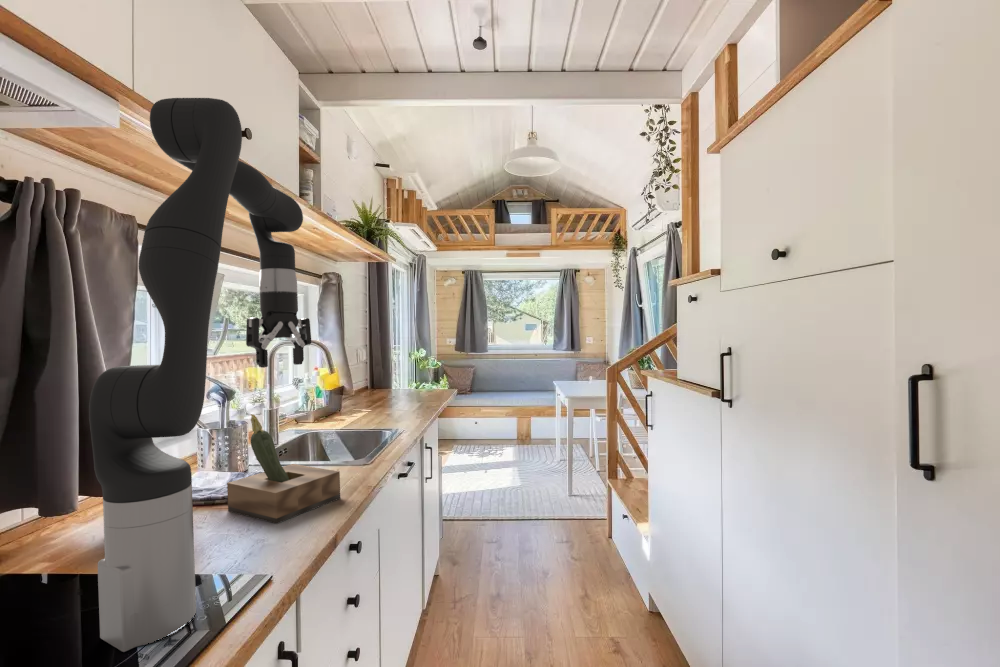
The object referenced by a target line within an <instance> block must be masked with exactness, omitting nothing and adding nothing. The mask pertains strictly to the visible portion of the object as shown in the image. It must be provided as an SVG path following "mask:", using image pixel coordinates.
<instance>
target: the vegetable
mask: <svg viewBox="0 0 1000 667" xmlns="http://www.w3.org/2000/svg"><path fill="white" fill-rule="evenodd" d="M250 416H251V419H250V422H251V428H252V432H253V433H252V434H251V437H250V445H251V449H252V452H253V454H254V456H255V458H256V460H257V462H258V463H259V465H260V466H261V468H262V470H263V472H265V474H266V475H267V477H268V479H269V480H271V481H276V482H281V483H282V482H285V481H288V480H290V479H289V477H288V475H287V474H286V472H285V470H284V469H283V466H282V464H281V462H280V460H279V457H278V453H277V450H276V446H275V441H274V439H273V436H272V435H271V434H270V433H269V431H266V430H264V429H263V428H262V427H263V426H262V424H261V422H260V421H259V419H258V417H257V416H256V415H255V414H251V413H250Z"/></svg>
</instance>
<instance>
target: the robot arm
mask: <svg viewBox="0 0 1000 667" xmlns="http://www.w3.org/2000/svg"><path fill="white" fill-rule="evenodd" d="M241 123H242V122H241V120H240V117H239V114H238V112H237V110H236V109H235V108H234V107H233V105H231V103H229V102H228V101H225V100H223V99H220V98H213V97H170V98H163V99H160V100H157V101H155V102H154V103H153V104H152V106H151V108H150V112H149V125H150V129H151V134H152V136H153V137H154V140H155V142H156V144H157V145H158V147H159V148H160V149H161V151H163V152H164V153H165V155H167V157H168V158H169V157H170V158H171V160H174V161H175V163H176V162H177V163H178V164H180V165H182V166H183V167H185V168H187V169H188V170H190V171H191V172H190V174H189V175H188V177H187V178H186V179H185V180H184V181H183V182H182V184H180V186H179V187H178V188H176V189H175V190H174V192H172V193H171V194H170V195H169V196H167V198H166V199H165V200H164V201H163V202H162V203H161V204H160V205H159V206H158V207H157V209H156V210H155V211H154V212H153V213H152V215H151V216H150V218H149V219H148V222H147V223H146V226H145V230H144V235H143V239H142V244H141V248H140V253H139V256H138V257H139V258H138V271H139V275H140V278H141V281H142V283H143V286H144V288H145V289H146V292H147V293H148V295H149V297H150V298H151V301H152V302H153V303H154V305H155V307H156V309H157V312H158V313H159V315H160V317H161V320H162V322H163V327H164V345H163V354H162V359H161V362H160V364H143V365H140V364H139V365H121V366H114V367H111V368H109V369H106V370H105V371H104V372H102V373H101V374H100V375H99V376H98V377H97V379H96V380H95V381H94V384H93V386H92V388H91V392H90V397H89V401H88V402H89V403H88V419H89V420H88V421H89V430H90V438H91V439H90V440H91V447H92V458H93V469H94V473H95V476H96V480H97V481H98V483H99V485H100V486H101V490H102V507H103V508H102V511H103V514H102V516H103V538H104V539H103V542H104V558H102V559H100V560H98V562H97V582H98V583H97V586H98V589H97V590H98V608H99V610H98V614H99V615H98V616H99V638H100V639H101V640H103V641H104V642H106V643H108V644H109V645H111V646H112V647H114V648H116V649H118V650H119V651H120V652H123V653H125V652H128V651H130V650H132V649H134V648H137V647H141V646H144V645H149V644H151V643H155V642H157V641H156V640H158V639H161V640H163V639H164V638H163V637H166V636H167V635H168V634H170V633H171V632H173V631H175V630H177V629H178V628H180V627H181V626H183V625H184V624H185V623H187V622H188V621H190V620H191V618H192V617H193V616H194V615H195V613H196V614H197V594H196V569H195V568H196V566H195V540H194V539H195V538H194V537H195V536H194V514H193V513H194V511H193V510H194V509H193V508H194V507H193V504H194V503H193V482H192V481H193V479H192V478H193V477H192V468H191V465H190V464H189V462H187V461H186V460H184V459H181V458H178V457H176V456H173V455H170V454H169V453H167V452H165V451H163V450H161V449H160V448H159V447H158V446H157V445H156V444H155V442H154V440H153V438H154V439H155V438H175V437H181V436H184V435H186V434H189V433H190V432H192V431H193V429H194V428H195V427H196V426H197V424H198V422H199V420H200V418H201V414H202V411H203V409H204V408H203V407H204V404H205V403H204V402H205V394H206V381H207V380H206V379H207V360H208V343H209V342H208V340H209V326H210V320H211V319H210V318H211V312H212V305H213V303H212V302H213V297H214V291H215V284H216V279H217V275H218V272H219V271H218V269H219V265H220V263H219V262H220V258H221V256H220V255H221V251H222V243H223V241H222V238H223V231H224V224H225V219H226V214H227V213H226V211H227V205H228V201H229V197H230V196H231V197H232V198H233V199H234V200H235V201H236V202H237V203H238V204H240V206H241V207H243V209H244V210H245V211H247V213H248V217H249V221H250V223H251V227H252V230H253V233H254V236H255V239H256V242H257V247H258V251H259V252H258V253H259V281H258V284H259V287H258V288H259V312H260V313H261V318H259V317H248V318H247V319H246V335H245V336H246V337H245V338H246V339H245V345H246V347H249V348H253V349H255V356H256V358H255V360H256V362H255V363H256V365H257V367H258V368H268V367H269V359H268V349H267V348H268V346H269V344H270V343H271V342H272V341H274V339H277V338H278V339H279V338H280V339H284V338H285V339H287V340H288V341H289V342H290V343H291V344H292V346H293V348H292V358H293V359H292V360H293V361H292V362H293V365H302V364H303V362H304V359H305V357H304V356H305V354H304V348H305V346H308V345H311V344H312V334H311V333H312V332H311V321H310V318H308V317H303V318H298V316H297V314H298V312H299V301H298V298H299V296H298V280H297V278H298V277H297V273H296V272H297V271H296V253H295V252H296V250H295V248H294V246H293V245H292V244H291V243H287V242H284V241H283V242H282V241H277V240H274V237H273V236H272V233H292V232H293V233H294V232H296V231H298V230H299V229H300V228H301V227H302V224H303V222H304V214H303V211H302V209H301V206H300V205H299V203H298V202H297V201H296V200H295V199H294V198H293V197H292V196H290V195H289V194H287V193H285V192H283V191H281V190H279V189H277V188H275V187H274V186H273V185H272V184H271V182H270V181H269V180H268V179H267V178H266V177H265V176H264V175H263V173H261V172H260V171H259V170H258V169H256V168H255V167H253V166H251V165H249V164H248V163H245V162H243V161H242V160H240V156H241V150H242V145H243V144H242V140H243V135H242V134H243V132H242V124H241ZM261 327H262V328H263V330H262V331H261V333H260V328H261ZM297 328H298V329H297ZM155 445H156V446H157V447H156V446H155ZM195 616H196V615H195ZM162 638H163V639H162ZM166 638H167V637H166ZM154 641H155V642H154ZM148 643H149V644H148Z"/></svg>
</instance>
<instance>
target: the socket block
mask: <svg viewBox="0 0 1000 667" xmlns="http://www.w3.org/2000/svg"><path fill="white" fill-rule="evenodd" d="M282 467H283V469H284V470H285V472H286V474H287V475H288V477H289V479H290V480H288V481H285V482H282V483H281V482H276V481H271V480H269V479H268V477H267V475H266V474H265V472H264V471H262V472H260V473H256V474H253V475H249V476H246V477H243V478H239V479H236V480H232V481H229V482H228V481H227V483H226V484H227V485H226V488H227V491H226V492H227V512H230V513H234V514H238V515H242V516H245V517H249V518H253V519H257V520H260V521H265V522H269V523H273V524H276V525H278V524H279V523H282V522H284V521H287V520H289V519H291V518H295V517H297V516H300V515H302V514H305V513H307V512H309V510H310V511H312V510H314V508H315V509H316V507H317V508H319V507H318V506H320V507H322V506H324V505H323V504H325V505H326V503H327V504H330V503H332V502H334V500H335V501H337V500H339V498H340V499H341V478H340V476H341V474H340V473H341V472H340V471H338V470H334V469H326V468H322V467H321V468H320V467H314V466H308V465H302V464H296V463H291V464H288V465H284V466H282ZM336 499H337V500H336ZM331 501H332V502H331ZM329 502H330V503H329ZM321 505H322V506H321ZM304 512H305V513H304Z"/></svg>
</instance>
